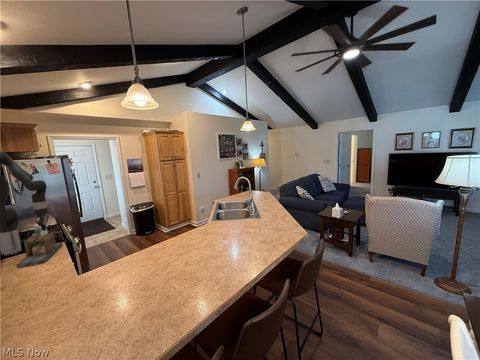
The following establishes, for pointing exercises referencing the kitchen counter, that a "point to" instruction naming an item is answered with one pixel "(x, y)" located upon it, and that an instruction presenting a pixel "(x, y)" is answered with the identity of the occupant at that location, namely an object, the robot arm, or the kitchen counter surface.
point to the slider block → (40, 247)
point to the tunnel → (39, 258)
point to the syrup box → (41, 230)
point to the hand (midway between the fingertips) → (44, 230)
